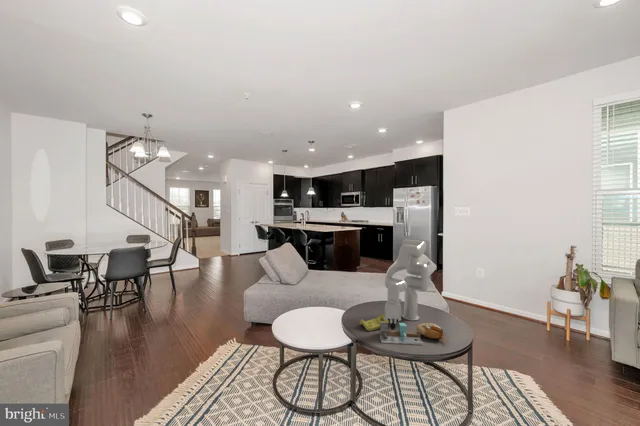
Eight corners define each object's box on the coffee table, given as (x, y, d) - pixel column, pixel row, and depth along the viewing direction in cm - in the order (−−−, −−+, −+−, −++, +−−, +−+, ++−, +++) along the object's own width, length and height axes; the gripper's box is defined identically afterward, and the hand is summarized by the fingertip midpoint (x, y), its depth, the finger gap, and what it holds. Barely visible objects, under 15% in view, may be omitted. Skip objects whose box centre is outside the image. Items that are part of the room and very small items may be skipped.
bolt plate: (379, 337, 174) (379, 335, 174) (419, 339, 172) (419, 337, 172) (381, 342, 167) (381, 340, 167) (422, 345, 165) (422, 343, 165)
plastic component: (368, 328, 180) (360, 317, 188) (366, 336, 184) (358, 324, 191) (392, 321, 189) (383, 311, 196) (389, 329, 192) (381, 318, 200)
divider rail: (380, 333, 179) (380, 321, 179) (418, 335, 177) (419, 323, 177) (382, 341, 168) (383, 329, 167) (424, 344, 166) (424, 331, 165)
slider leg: (398, 334, 178) (398, 322, 178) (404, 334, 178) (405, 323, 177) (402, 342, 167) (402, 330, 166) (409, 343, 166) (409, 330, 166)
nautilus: (455, 344, 167) (437, 350, 161) (428, 328, 186) (412, 332, 180) (456, 332, 166) (438, 337, 160) (429, 317, 186) (412, 321, 180)
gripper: (403, 299, 179) (403, 326, 179) (380, 298, 180) (380, 325, 180) (406, 303, 171) (405, 332, 172) (382, 302, 172) (381, 330, 173)
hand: (392, 328), depth 176 cm, fingers closed
